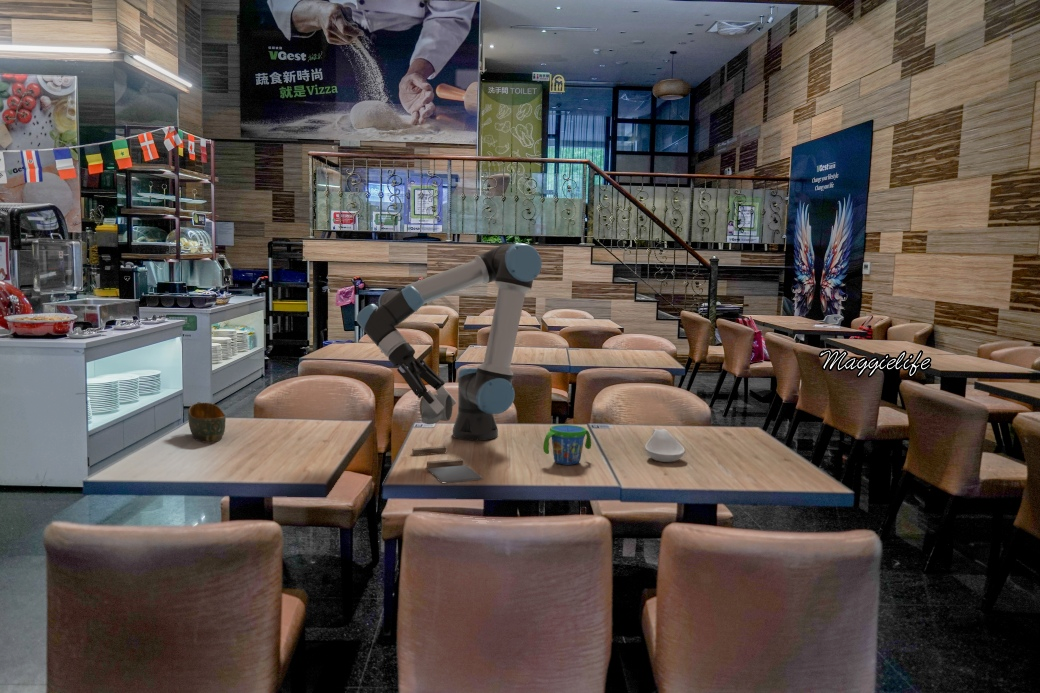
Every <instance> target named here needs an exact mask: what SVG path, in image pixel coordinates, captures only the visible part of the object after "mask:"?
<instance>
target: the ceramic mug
mask: <svg viewBox="0 0 1040 693" xmlns="http://www.w3.org/2000/svg"><path fill="white" fill-rule="evenodd" d="M433 395H434V396H435V397H436V398H437V399H438V401H439V402H440V403H441V404H442V405H443V406H444V408H443V409H442V410H441V411H440V412H439V413H438V414H437V413H436V412H435V411H434V410H433V409H432V408H431V406H430V405H429V404H428V403H427V402H426V401H425V399H424V398H423V396H422V397H421V398H420V401H419V413H420V418H421V422H422V423H423V424H425V425H434V424H437V423H440V421H442V422H443V421H444V422H445V421H446V422H448V421H450V420H451V418H452V415H453V406H452V398H451V396H452V395H451V396H450V395H449V394H437V393H435V394H433Z"/></svg>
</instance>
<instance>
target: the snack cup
mask: <svg viewBox="0 0 1040 693" xmlns="http://www.w3.org/2000/svg"><path fill="white" fill-rule="evenodd" d="M590 434H591V433H590V432H589V430H587V429H586V427H583V426H579V425H574V424H573V425H572V424H555V425H553V426H551V427H549V431H548V432H547V434H546V435H545V437H544V441H543V446H542V448H543V452H544V454H546V455H549V454H550V450H549V449H550V439H551V444H552V453H553V460H554V461H555V463H556V464H560V465H564V466H571V465H575V464H578V465H579V464H580V461H581V458H582V453H583V448H584V447H585V449H588V450H590V449H591V447H592V438H591V435H590ZM585 436H586V437H585ZM585 438H586V439H585ZM584 439H585V444H584Z"/></svg>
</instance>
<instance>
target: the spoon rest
mask: <svg viewBox="0 0 1040 693" xmlns="http://www.w3.org/2000/svg"><path fill="white" fill-rule="evenodd" d="M644 450H645V452H646V454H647V455H648V457H650V458H651V459H652V460H653V461H656V462H661V463H673V462H677V461H678V460H680V459H681V458H682V457H683V456H684V455H685V453H686V450H685V448H684V446H683V445H682V444H681V443H680V442H679V441H678V440H677V439H676V438H675V437H674V436H673V435H672V434H671V433H670V432H669V431H668V430H667V429H666V428H662V429H658V428H654V429H653V431H652V433H651V437H650V438H649V439H648V441H647V442H646V443H645V445H644Z"/></svg>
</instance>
